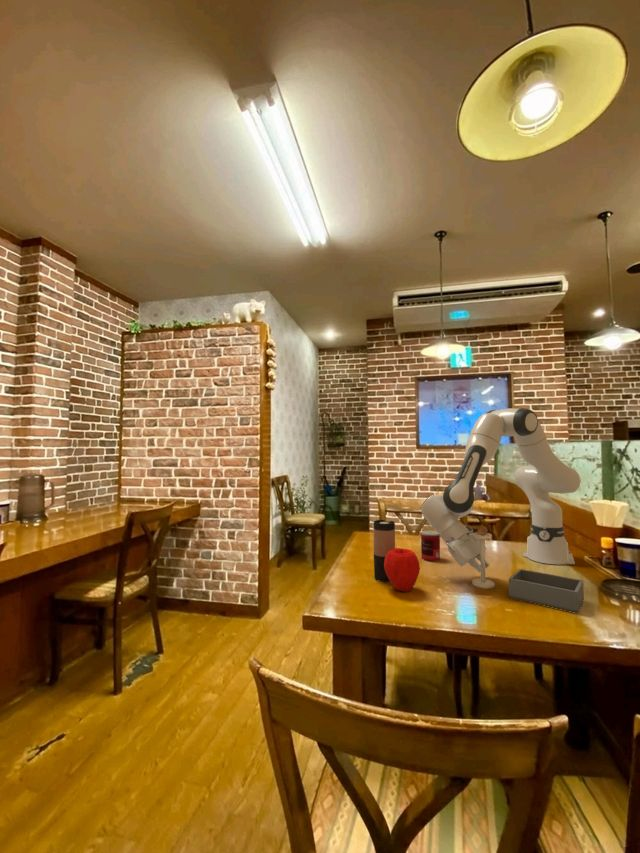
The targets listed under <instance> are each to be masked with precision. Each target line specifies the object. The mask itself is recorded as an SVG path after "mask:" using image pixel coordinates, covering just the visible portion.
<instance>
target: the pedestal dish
mask: <svg viewBox="0 0 640 853" xmlns="http://www.w3.org/2000/svg"><path fill="white" fill-rule="evenodd" d="M473 537H474V538H477V539H480V561H479V562H480V563H479V565H482V567H483V568H484V570H483V571H482V572H480V578H473V579H472V580H471V584H472V586H473V587H476V588H480V589H485V590H486V589H487V590H488V589H494V588H495V582H494V581H493V580H491V579H486V569H485V560H486V550H485V547H486V543H485V542H486V540H492V538H493V535H492V533H490V532H489V533H488V532H487V534H486V535H480V534H479V533H478V531H475V532H473Z"/></svg>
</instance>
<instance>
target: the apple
mask: <svg viewBox="0 0 640 853" xmlns="http://www.w3.org/2000/svg"><path fill="white" fill-rule="evenodd" d="M420 568H421V567H420V561H419V558H418V556H417V555H416V553H415V552H414V551H412V550H411V549H407V548H403V547H402V548H400V547H395V548H394V549H392V550H390V551H389V552H388V553H387V554H386V557H385V560H384V569H385V572H386V575H387V577H388V579H389V580H390V584H391V585H392V586H393V588H394V589H395V590H397V591H399V592H406V593H407V592H409V591H411V589H413V587H414V585H415V584H416V582H417V581H418V578H419V574H420Z"/></svg>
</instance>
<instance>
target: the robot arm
mask: <svg viewBox="0 0 640 853" xmlns="http://www.w3.org/2000/svg"><path fill="white" fill-rule="evenodd" d="M544 431H545V430H544V429H543V427H542V425H541V423H540V421H539V419H538V416H537V415H536V413H535V412H534V411H533V410H532V409H529V408H526V407H525V408H524V407H521V408H503V409H501V408H500V409H491V410H489V411H486V412H485V413H483V414H482V415H480V416H479V417H478V419H477V420H476V422H475V424H474V425H473V426H472V429H471V431H470V433H469V435H468V437H467V441H466V444H465V450H464V459H463V461H462V463H461V466H460V468H459V470H458V473H457V475H456V477H455V479H454V480H453V481H452V482H450V483H449V485H447V487H445V489H444V491H443V493H442V494H431V495H429V496H428V497H426V499H424V501H423V502H422V504H421V506H420V511H421V513H422V516H423V517H424V518H425V520H426V521H427V522H428V524H429V525H430V526H431V528H433V529H434V530H435V531H437V532H438V533H439V535H440V539H442V540H443V542H444V543H445V544H446V546H447V550H448V552H449V554H450V555H451V556H452V558H453V560H454V561H455V562H456V563H457V564H458V565H459V566H461V567H463V566H465V565H466V564H469V565H470V566H471V567H473V569H475V570H476V571H477V572H478V574H479V573H480V574H481V572H482V571H483V570H484V568H483V567H482V565H480V563H478V562H477V561H479V562H480V539H477V538H474V537H473V533H474V529H472V527H471V526H468V525H466V524H465V525H464V524H463V523H462V522H461V521H460V519H461V518H463V517H465V516H467V515H469V514H470V513H471V512H472V510H473V506H474V501H475V492H474V487H475V485H476V484H475V483H476V482H477V479H478V476H479V474H480V472H481V469H482V468H483V466H484V465H485V464H487V463H489V462H491V461H492V459H493V458H494V456H495V455H496V453H497V451H498V449H499V446H500V444H501V442H502V441H501V440H502V437H504V438H505V437H507V438H508V437H513V438H514V440H515V443H516V446H517V448H518V451H519V454H520V456H521V459H522V460H523V461H524V462H525V463H527V464H529V465H524V466H519V467H518V468H517V469H516V471H515V474H514V481H515V484H516V485H517V487H519V488H520V489H521V491H523V492H524V494H525V495H526V498H527V499H528V501H529V504H530V511H531V525H530V535H529V536H527V539H526V541H527V542H526V543H527V545H526V552H523V554H522V556H523V557H524V558H528V559H529V560H532V561H534V562H537V563H540V564H541V563H542V564H547V565H549V564H550V565H557V566H558V565H576V563H575V558H574V556H573V553H571V551H570V550H569V542H567V540H566V538H565V528H564V526H563V510H562V507H561V505H560V504H558V503H557V502H556V501H555V500H553V498H552V497H550V493H552V494H559V495H560V494H571V493H576V492H577V490H578V489H579V488H580V486H581V477H580V474H579V473H578V471H577V470H576V469H575V468H573V467H570V466H569V465H566V464H565V463H564V462H562V460H561V459H560V458H558V456H557V455H556V454H555V453H554V451H553V450H552V448H551V446H550V444H549V441H548V438H547V436H546V434H545V432H544ZM486 550H487V547H486V546H485V551H486ZM476 559H477V560H476ZM489 566H490V564H489V562H488V561H487V560H486V559H485V570H486V569H487V568H489Z"/></svg>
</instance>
